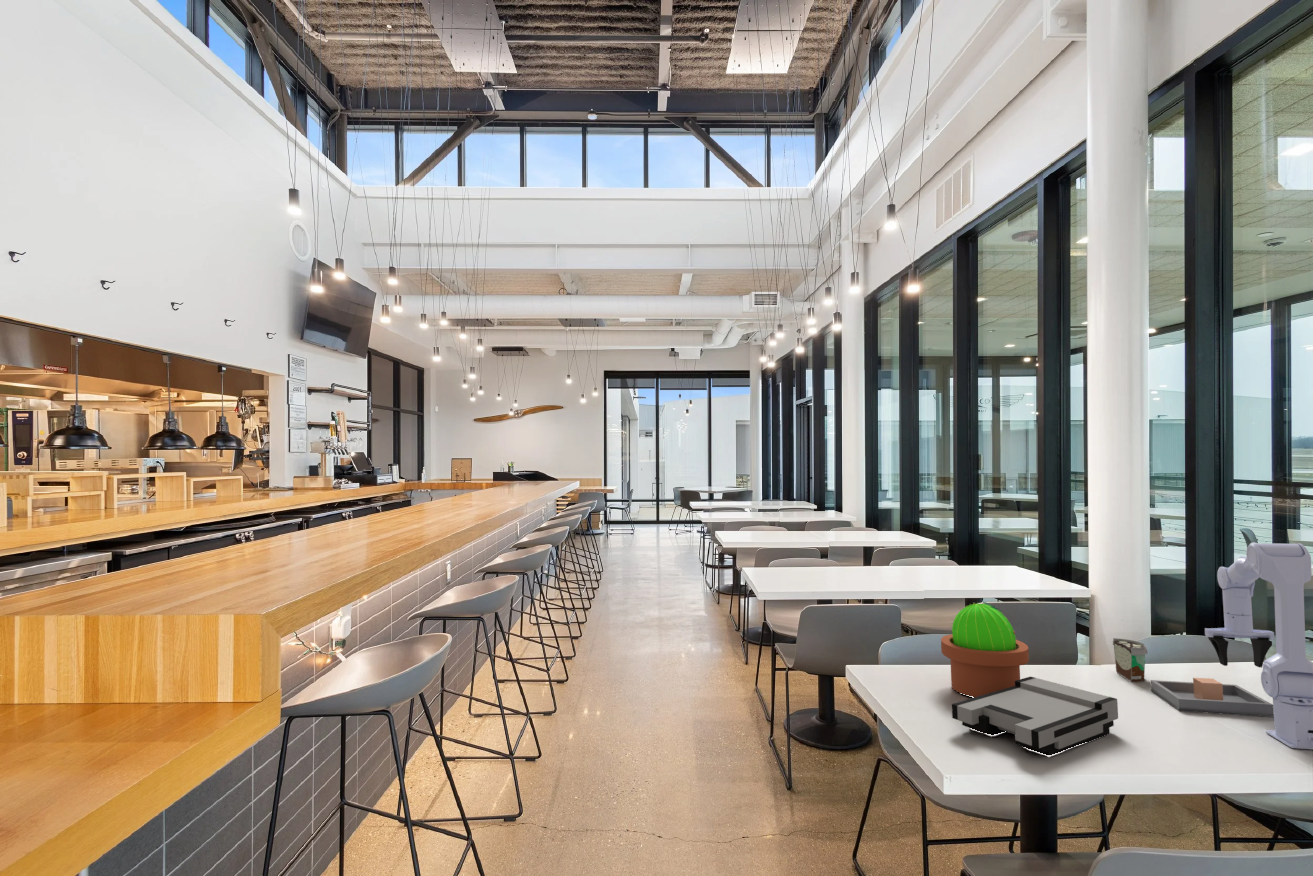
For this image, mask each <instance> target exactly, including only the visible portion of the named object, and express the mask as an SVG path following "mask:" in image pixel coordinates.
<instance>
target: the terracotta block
mask: <svg viewBox="0 0 1313 876" xmlns="http://www.w3.org/2000/svg"><path fill="white" fill-rule="evenodd" d="M1192 682H1193V685H1194V697H1195V698H1197V699H1207V700H1223V686H1222V684H1223V683H1221V682H1220V681H1219V680H1216V679H1214V678H1209V677H1208V678H1203V677H1193V678H1192Z"/></svg>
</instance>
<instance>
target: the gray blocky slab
mask: <svg viewBox="0 0 1313 876" xmlns="http://www.w3.org/2000/svg"><path fill="white" fill-rule="evenodd" d="M1118 705H1119V703H1118V698H1116V697H1113V696H1112V697H1111V696H1109V695H1108V696H1107V695H1103V694H1100V693H1096V692H1092V691H1089V690H1088V691H1087V690H1083V689H1082V688H1081V689H1080V688H1076V687H1073V686H1069V685H1065V684H1062V683H1061V684H1060V683H1057V682H1054V681H1049V680H1047V679H1046V680H1045V679H1042V678H1038V677H1034V676H1032V675H1031V676H1028V677H1023V678H1020V680H1016V681H1015V686H1012V687H1009V688H1005V689H1002V690H998V691H995V692H991V693H988V694H985V695H981V696H978V697H974V698H968V699H965V700H961V701H958V702H953V703H951V718H952V719H954V720H957V721H959V722H961V725H962V726H964V727H966V728H968V729H969V728H972V729H975V730H977V731H980V732H983V733H987V734H991V735H994V734H998V733H1001V732H1005V731H1006V732H1007V733H1010V734H1011V735H1012V734H1013V735H1014V744H1015V745H1016V746H1020V747H1022V746H1023V747H1026V748H1028V749H1031V750H1034V751H1037V752H1040V753H1043V754H1046V755H1052V754H1055V753H1058V752H1061V751H1063V750H1066V749H1068V748H1071V747H1074V746H1076V745H1079V744H1082V743H1085V742H1088V743H1090V742H1089V741H1091V742H1093V741H1095V740H1094V739H1096V740H1098V739H1100V738H1099V737H1101V738H1103V737H1105V736H1104V735H1106V736H1108V735H1110V734H1109V733H1111V732H1110V731H1111V729H1110V728H1112V727H1114V725H1115V723H1114V721H1116V720H1118V719H1119V710H1118V709H1119V706H1118ZM1107 734H1108V735H1107ZM1102 736H1103V737H1102ZM1097 738H1098V739H1097ZM1092 740H1093V741H1092Z"/></svg>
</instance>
